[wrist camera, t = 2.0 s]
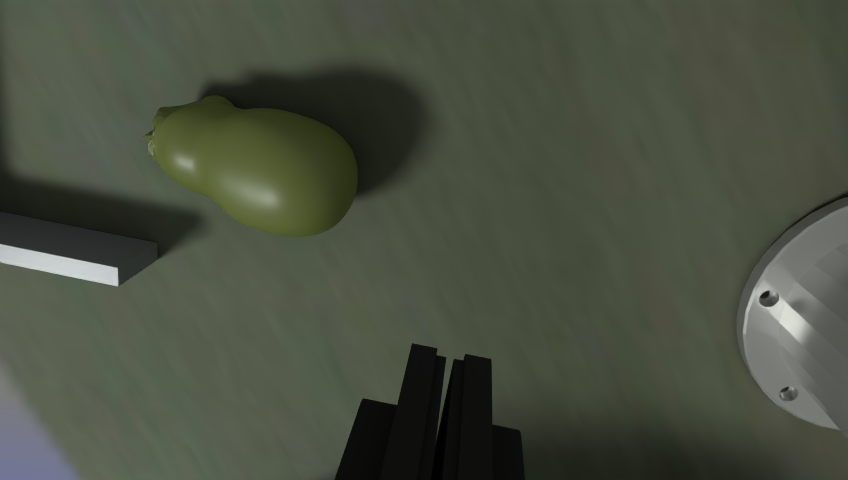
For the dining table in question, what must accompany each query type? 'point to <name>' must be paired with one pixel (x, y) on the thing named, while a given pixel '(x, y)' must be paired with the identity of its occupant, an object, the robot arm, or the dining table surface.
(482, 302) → the dining table surface
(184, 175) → the pear
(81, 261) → the box
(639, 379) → the dining table surface
